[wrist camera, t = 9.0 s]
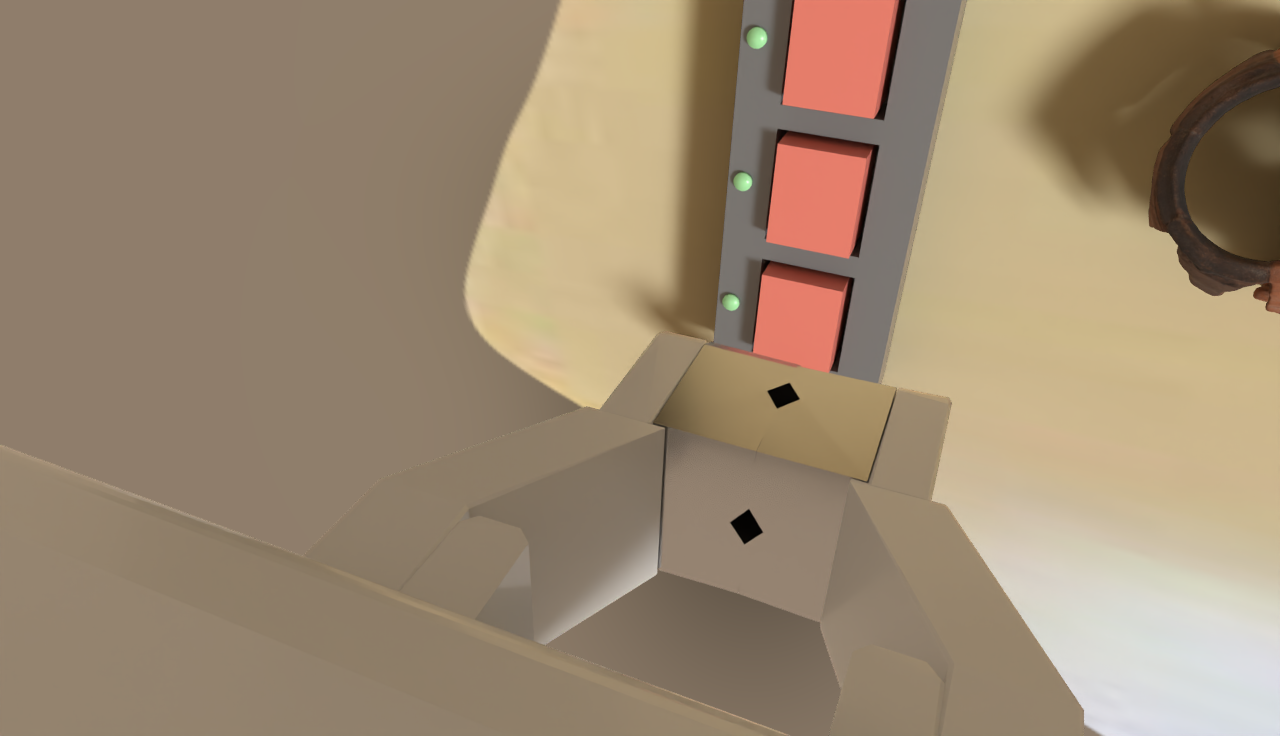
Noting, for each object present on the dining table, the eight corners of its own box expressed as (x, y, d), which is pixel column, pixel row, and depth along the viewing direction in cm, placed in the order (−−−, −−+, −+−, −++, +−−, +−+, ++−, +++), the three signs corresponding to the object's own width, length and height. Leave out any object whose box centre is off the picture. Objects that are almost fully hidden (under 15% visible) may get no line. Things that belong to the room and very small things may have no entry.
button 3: (779, 246, 42) (762, 274, 40) (856, 262, 41) (842, 291, 39) (769, 326, 45) (752, 357, 42) (841, 343, 44) (827, 375, 41)
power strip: (784, -207, 33) (760, -205, 31) (1010, -196, 31) (1003, -193, 29) (730, 338, 47) (710, 370, 45) (883, 375, 45) (871, 410, 42)
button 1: (815, -29, 35) (796, -14, 33) (908, -19, 34) (895, -3, 32) (801, 84, 38) (782, 104, 36) (887, 96, 37) (873, 118, 34)
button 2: (796, 121, 39) (777, 143, 36) (880, 134, 38) (866, 158, 35) (784, 215, 41) (766, 241, 39) (862, 230, 40) (848, 258, 38)
